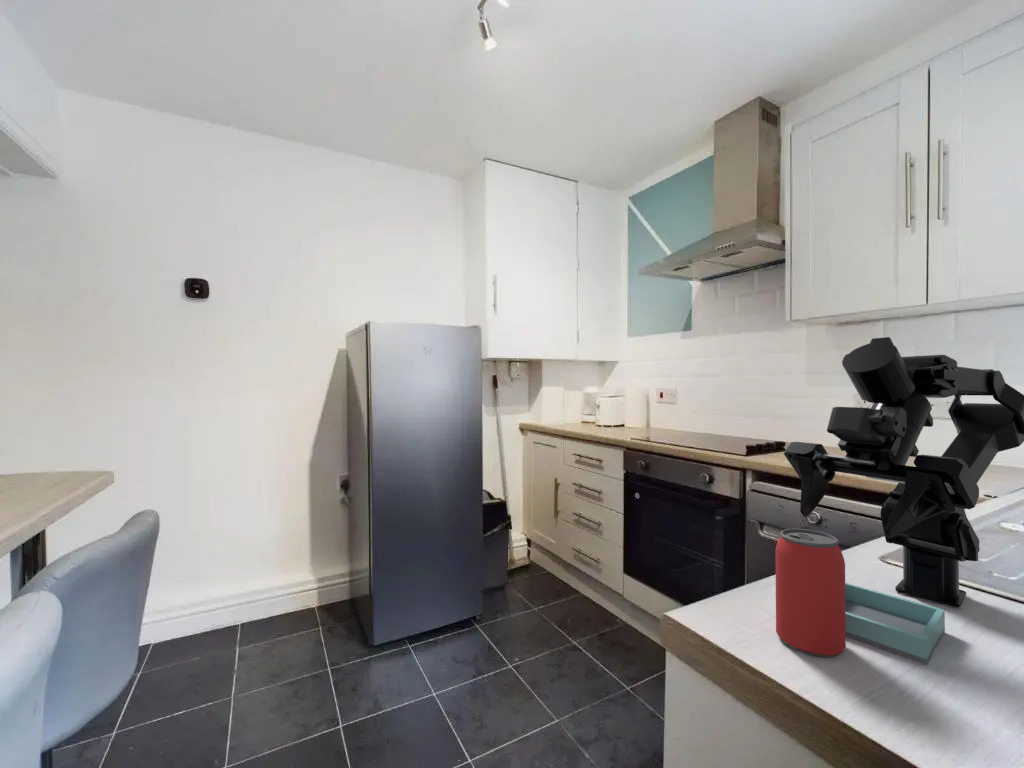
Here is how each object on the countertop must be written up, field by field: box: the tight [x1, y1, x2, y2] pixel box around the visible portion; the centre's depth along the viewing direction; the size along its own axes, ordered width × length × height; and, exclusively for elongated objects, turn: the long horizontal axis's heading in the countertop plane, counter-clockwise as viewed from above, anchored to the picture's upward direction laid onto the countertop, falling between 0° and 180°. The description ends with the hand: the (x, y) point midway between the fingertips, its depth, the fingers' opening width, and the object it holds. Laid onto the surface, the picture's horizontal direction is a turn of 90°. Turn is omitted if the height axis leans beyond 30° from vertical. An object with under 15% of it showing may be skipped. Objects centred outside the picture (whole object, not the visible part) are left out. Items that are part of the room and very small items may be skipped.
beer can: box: [775, 528, 847, 658], centre depth 51 cm, size 7×7×12 cm
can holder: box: [845, 581, 946, 666], centre depth 54 cm, size 10×10×3 cm
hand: (842, 524), depth 54 cm, fingers open, 9 cm apart
